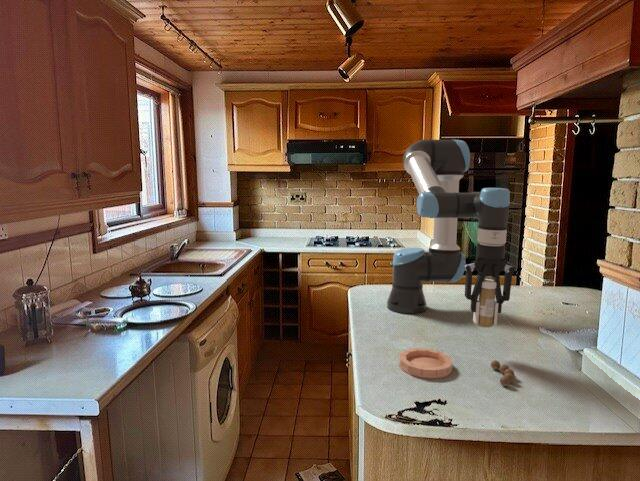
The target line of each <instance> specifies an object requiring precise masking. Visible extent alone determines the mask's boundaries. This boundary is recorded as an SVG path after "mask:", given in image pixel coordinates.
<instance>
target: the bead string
mask: <svg viewBox="0 0 640 481" xmlns="http://www.w3.org/2000/svg"><path fill="white" fill-rule="evenodd" d="M490 367H491V368H492V369H493V370H499V371H500V373H501V374H504V375H503V376H501V377H500V378H499V383H500V385H501V386H503V387H509V386H510V385H511V384H512V383H514V381H515V371H514V370H513V369H511V368H510V367H509V366H508V365H507V364H501V363H500V362H499V360H492V361H491V362H490Z"/></svg>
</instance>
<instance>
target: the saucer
mask: <svg viewBox="0 0 640 481" xmlns="http://www.w3.org/2000/svg"><path fill="white" fill-rule="evenodd" d="M398 367H399V368H400V370H401V371H403V372H404V373H406V374H408V375H410V376H412V377H417V378H420V379H427V380H429V379H430V380H434V379H443V378H446V377H448V376H450V374H452V372H453V361H452V359H451V357H450V356H449V355H447V354H445V353H443V352H442V351H440V350H434V349H432V348H431V349H430V348H419V347H416V348H415V347H414V348H411V349H410V348H409V349H405V350H403V351H402V352H401V353H400V354H399V360H398Z"/></svg>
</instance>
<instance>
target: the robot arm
mask: <svg viewBox="0 0 640 481" xmlns="http://www.w3.org/2000/svg"><path fill="white" fill-rule="evenodd" d="M470 164H471V152H470V148H469V145H468V144H467V142H466V141H464V140H461V139H420V140H418V141H415V142H414V143H412V144H411V145H410V146H408V147H407V149H406V150H405V151H404V154H403V157H402V165H403V168H404V170H405V171H406V172H407V174H409V175H410V177H411V180H412V182H413V183H414V185H415V188H416V190H417V193H418V196H417V198H416V199H417V200H416V209H417V211H416V212H417V214H418V216H419V217H421V218H429V219H433V236H432V237H433V240H432V244H430V245H429V247H428V251H426V250H425V249H424V248H422V247H408V248H402V249H398V250H396V251H395V252H394V253H393V257H392V282H391V283H392V284H391V286H392V287H391V289H390V293H389V296H388V298H387V302H386V308H387V309H388V310H390V311H392V312H395V313H400V314H421V313H424V312H426V310H427V300H426V297H425V294H424V290H423V287H424V286H423V285H424V283H446V284H448V283H457V282H459V281H460V280H461V279H462V277H463V276H464V273H465V283H464V297H465V298H466V299H467V300H470V308H469V309H470V311H471V312H472V313H473V315H472V317H473V318H472V322H473V323H474V324H475V325H477V324H478V319H479V306H480V302H479V293H480V290H481V287H482V282H483V281H484V280H485V279H486V277H491V279H492V280H494V281H495V282H496V290H495V305H494V315H493V326H497V324H498V314H501V313H502V307H503V304H504V303H505V302H508V301H510V296H511V289H512V280H513V275H514V273H515V271H516V267H514V266H513V265H510V264H509V265H508V264H507V263H506V261H505V257H506V245H505V244H506V243H507V231H508V221H509V213H510V212H509V211H510V204H511V200H510V198H511V197H510V196H511V194H510V193H511V192H510V189H508V188H504V187H503V188H502V187H483V188H481V190H480V191H473V192H460V191H459V190H460V180H461V179H463V177H464V174H465V172H467V171H468V170H469V169H470ZM458 219H478V225H477V235H476V236H477V237H476V241H477V242H478V243H477V244H476V251H475V259H474V260H473V263H469V264H468V263H466V257H465V253H464V252H462V251H461V247H460V246H459V245H458V244H457V235H458V234H457V233H458V232H457V231H458ZM475 269H476V270H477V277H476V279H475V284H474V286H473V285H472V284H473V272H474V270H475ZM502 271H504V277H503V278H504V279H503V286H502V287H503V289H502V287H501V282H500V278H501V277H500V273H501V272H502ZM472 286H473V287H472Z"/></svg>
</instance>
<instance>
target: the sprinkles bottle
mask: <svg viewBox="0 0 640 481" xmlns="http://www.w3.org/2000/svg"><path fill="white" fill-rule="evenodd" d="M495 290H496V282H495V281H494V280H493V278H485V280H484V281H483V282H482V287H481V290H480V293H479V296H478V301H479V302H480V306H479V319H478V324H476V325H477V326H479V327H481V328H492V327H493V326H494V324H493V315H494V305H495V300H496V297H495Z"/></svg>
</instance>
